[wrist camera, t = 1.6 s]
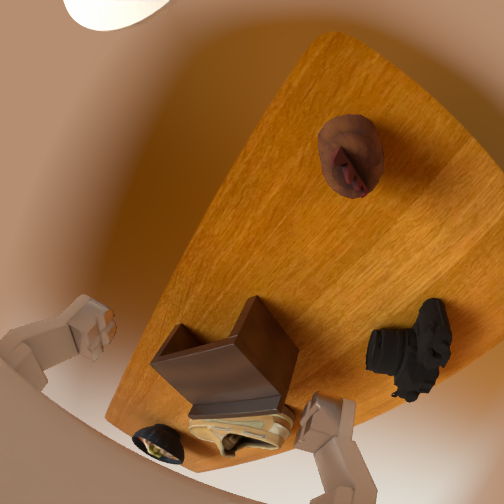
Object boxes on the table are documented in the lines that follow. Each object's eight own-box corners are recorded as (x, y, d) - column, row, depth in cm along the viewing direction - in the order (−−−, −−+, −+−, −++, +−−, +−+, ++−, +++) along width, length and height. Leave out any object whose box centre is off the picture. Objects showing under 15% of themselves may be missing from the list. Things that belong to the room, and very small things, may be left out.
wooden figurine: (316, 117, 30) (289, 144, 18) (370, 106, 27) (386, 125, 15) (332, 177, 33) (317, 245, 20) (384, 168, 30) (404, 233, 18)
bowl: (202, 442, 81) (190, 469, 73) (177, 445, 91) (165, 468, 82) (156, 412, 78) (141, 438, 70) (136, 418, 88) (122, 441, 80)
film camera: (385, 287, 37) (388, 338, 30) (451, 297, 35) (465, 347, 28) (359, 363, 45) (354, 410, 38) (414, 370, 43) (417, 416, 36)
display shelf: (175, 325, 53) (141, 375, 43) (256, 295, 44) (227, 358, 34) (217, 369, 57) (192, 419, 47) (299, 350, 47) (281, 413, 38)
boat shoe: (184, 408, 71) (165, 443, 62) (272, 390, 55) (255, 440, 46) (212, 430, 73) (197, 463, 64) (303, 416, 58) (291, 463, 48)
